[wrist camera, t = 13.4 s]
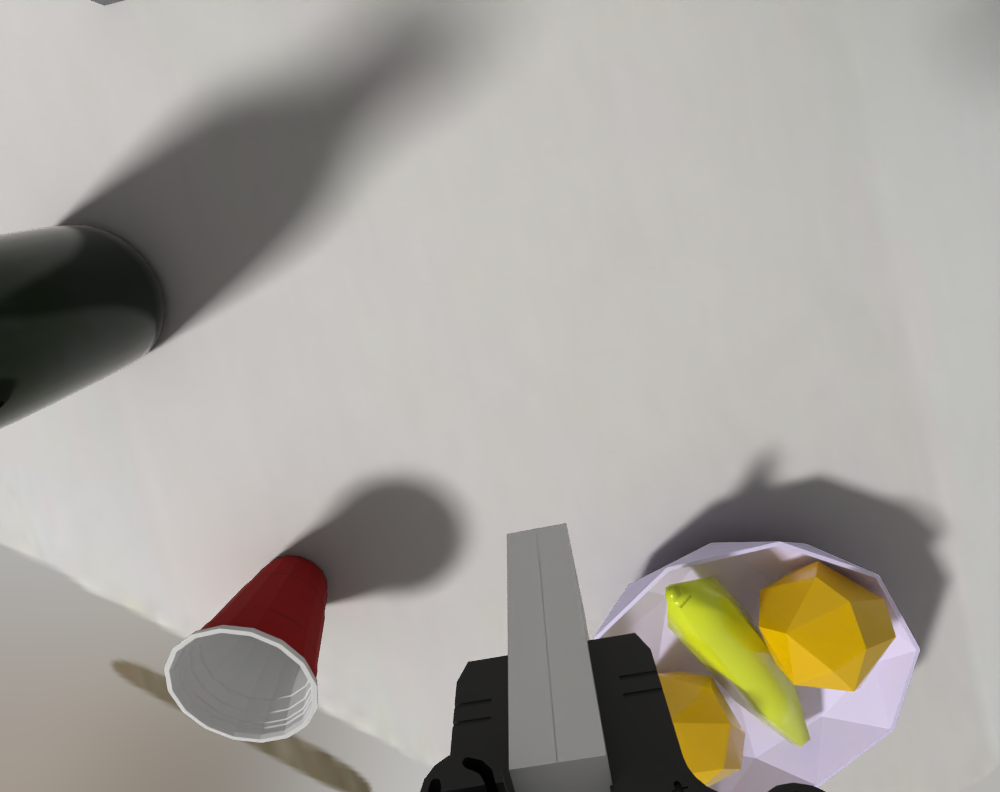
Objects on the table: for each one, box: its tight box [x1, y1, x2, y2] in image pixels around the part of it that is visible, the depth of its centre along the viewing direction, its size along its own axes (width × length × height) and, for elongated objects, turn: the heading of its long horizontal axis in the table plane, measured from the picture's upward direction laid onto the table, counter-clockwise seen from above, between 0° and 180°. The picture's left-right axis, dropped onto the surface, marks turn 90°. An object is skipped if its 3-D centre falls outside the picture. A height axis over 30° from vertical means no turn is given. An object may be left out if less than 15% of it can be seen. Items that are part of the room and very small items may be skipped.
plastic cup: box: [164, 556, 327, 743], centre depth 49 cm, size 11×11×12 cm
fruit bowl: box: [593, 541, 920, 792], centre depth 51 cm, size 28×27×11 cm
